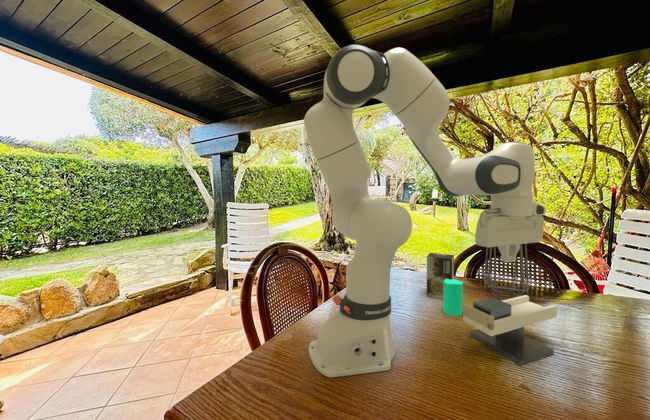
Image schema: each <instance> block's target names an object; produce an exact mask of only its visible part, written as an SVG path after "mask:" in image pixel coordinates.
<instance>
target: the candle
mask: <svg viewBox="0 0 650 420" xmlns="http://www.w3.org/2000/svg"><path fill="white" fill-rule="evenodd" d="M454 277H455V276H454ZM454 277H453V279H445V280H444V291H443V299H442V301H443V303H442V311H443V312H444V314H446V315H449V316H453V317H460V316H463V304H464V303H463V302H464V301H463V300H464V299H463V296H464V294H463V293H464V281H460V280H458V279H456V278H454Z"/></svg>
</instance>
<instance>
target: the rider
mask: <svg viewBox="0 0 650 420" xmlns="http://www.w3.org/2000/svg"><path fill="white" fill-rule="evenodd" d="M472 307H474V308H476V309H478V310H480V311H482V312H484V313H486V314H488V315H490V316H493V317H494V320H498V319H501V318H505V317H509V316H511V305H510V304H508V303H505V302H503V301H502V300H501V299H500V300H499V298H496V297H489V298H485V299H484V298H483V299H481V300H480V299H479V300H476V301H473V302H472Z"/></svg>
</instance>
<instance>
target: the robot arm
mask: <svg viewBox="0 0 650 420" xmlns="http://www.w3.org/2000/svg"><path fill="white" fill-rule="evenodd" d="M328 62H329V63H328V65H327V67H326V70H325V73H324V76H323V88H322V89H323V91H322V100H321V101H319V102H317V103H316V104H314V105H313V106H311V107H310V108H309V109H308V110H307V112H306V113H305V115H304V118H303V125H304V130H305V133H306V138H307V140H308V143H309V146H310V149H311V152H312V154H313V156H314V158H315V161H316V164H317V166H318V168H319V170H320V172H321V175H322V177H323V179H324V181H325V184H326V186H327V189H328V192H329V195H330V199H331V204H332V209H333V211H332V215H331V219H332V225H333V226H334V229H335V230H336V231H338V232H339V233H340V234H341V235H343V237H345V238H346V239H347V238H348V239H351V240H354V241H355V244H356V245H355V251H354V254H353V257H352V259H351V260H349V261H348V262H347V264H346V268H345V285H346V287H345V291H346V292H345V293H344V296H343V298H342V297H340V295H336V294H335V295H334V296H333V298H332V300H333V302H334V304H335V305H337V306H339V309H338V310H337V311H336V312H335V313H333V314H332V316H330V317H329V318H327V319H326V320H325V321H324V322H323V323H322V324H321V325H320V327H319V328H318V332H317V338H316V339H315V340H312V341H310V343H309V345H308V356H309V359H310V361H311V363H312V365H313V367H315V369H316V371H318V372H319V373H320V374H321V375H323V376H325V377H326V378H335V377H336V378H337V377H345V376H354V375H360V374H361V375H362V374H368V373H369V374H370V373H371V374H372V373H378V372H385V371H389V370H390V369H391V367H392V361H393V360H394V358H395V356H396V353H397V352H396V351H397V350H396V346H395V343H394V338H393V333H392V327H391V326H392V325H391V313H392V297H391V295H390V286H391V285H390V284H391V283H390V282H391V267H392V263H393V260H394V257H395V255H396V253H397V251H398V250H399V249H400V247H402V246H403V245H404V244H405V243H406V242H407V241H408V240H409V239H410V237H411V233H412V230H413V221H412V217H411V214H410V213H409V211H408V210H407V208H405V207H403V205H400V204H398V203H396V202H395V203H394V202H391V201H389V200H378V199H377V200H375V199H372V198H371V196H370V193H369V186H368V181H369V179H370V176H371V170H372V169H371V167H370V164H369V162H368V159H367V157H366V154H365V152H364V150H363V147H362V145H361V142H360V140H359V137H358V135H357V132H356V131H355V128H354V123H353V122H354V121H353V114H354V111H355V110H356V109H357V108H359V107H362V105H364V104H365V103H367V102H368V101H369V100H370V99H376V100H378V101H380V102H382V103H383V104H385V105H386V106H387V108H388V109H389V110H390V111H391V112H392V113H393V115H395V116H396V118H397V119H398V120H399V122H400V123H401V124H402V126H403V127H404V128H405V130H406V131H407V135H408V137H409V140H411V142H412V144H413V146H414V147H415V148H416V150H417V151H418V153H419V154H420V155H421V156H422V158H423V160H424V161H425V162H426V163H427V164H428V166H429V167H430V169H431V171H432V172H433V174H434V176H435V178H436V182H437V183H438V186H439V188H440V190H441V191H442V192H444V194H445V195H448V196H451V197H461V196H490V208H485V209H483V211H481V213H480V214H479V217H478V220H477V223H476V227H475V228H476V229H475V234H474V235H475V236H474V241H475V243H476V245H477V246H479V247H484V248H487V247H488V248H490V247H492V248H494V247H496V248H497V249H498V251H499V253H500V255H501V256H500V257H501V258H500V259H501V262H504V263H513V262H514V261H515V260H516V261H517V254H518V253H519V252H520V250H519V249H520V244H522V245H523V244H524V245H525V244H526V243H527V244H533V243H540V242H541V240H542V238H543V236H544V229H545V228H544V227H545V219H544V215H546V211H547V208H546V206H544V205H543V204H541V203H538V202H536V201H534V192H533V184H534V182H535V173H536V171H535V170H536V169H535V167H536V165H535V154H534V150H533V147H532V146H531V145H530V144H528V143H526V142H519V141H516V142H515V141H508V142H507V141H506V142H502V143H499V144H497V145H496V147H495V148H494V149H492V150H490V151H489V152H486V153H484V154H482V155H479V156H474V157H469V158H458V157H456V156H454V155H453V154H452V152H451V151H450V150H449V149H448V147H447V146H446V144H445V143H444V140H442V138H441V136H440V134H439V127H440V126H441V124H442V123H443V121H444V120H445V119H446V117H447V115H448V114H449V113H448V112H449V108H450V97H449V94H448V92H447V90H446V88H445V87H444V85H443V84H442V83H441V82H440V80H439V79H438V78H437V77H436V76H435V74H434V73H432V71H431V70H430V69H429V67H427V66H426V65H425V64H424V62H422V61H421V60H420V59H419V58H418V57H417V56H415V55H414V54H413V53H411V52H410V51H409V50H408V49H406V48H404V47H398V46H397V47H394V48H391V49H388V50H387V51H386V52H384V53H383V52H379V51H376V50H373V49H371V48H369V47H367V46H364V45H361V44H350V45H349V44H348V45H347V46H344V47H341V48H340V49H338V51H337V52H335V54H334V55H333V56H332V57H331V59H330V61H328Z"/></svg>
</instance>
